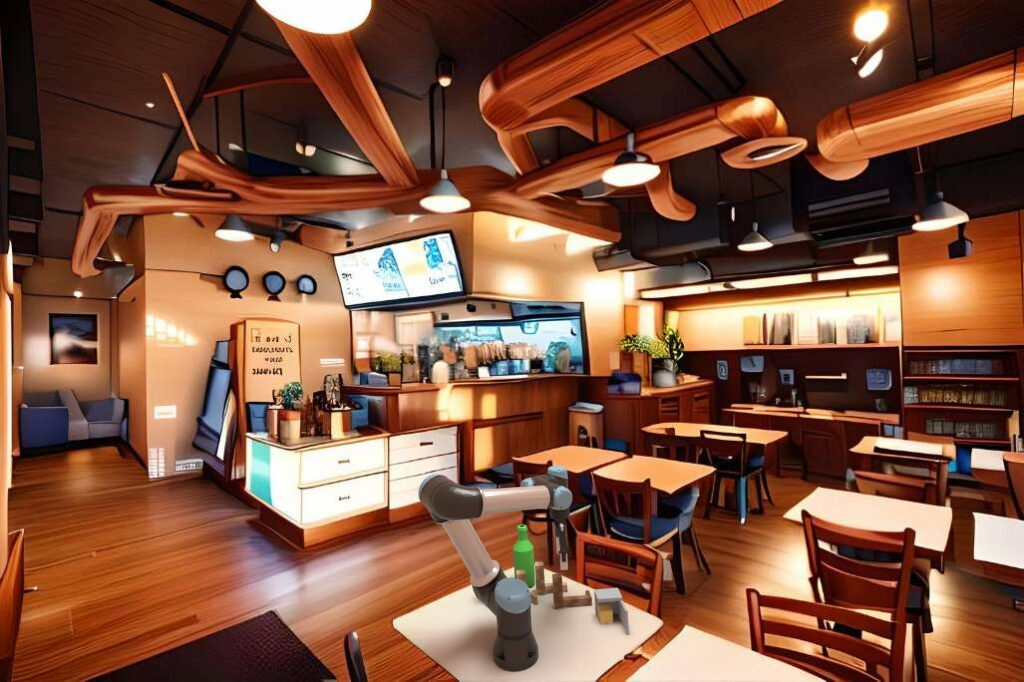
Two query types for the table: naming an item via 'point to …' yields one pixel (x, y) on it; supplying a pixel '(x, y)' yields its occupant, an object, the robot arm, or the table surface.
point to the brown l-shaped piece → (568, 601)
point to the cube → (605, 613)
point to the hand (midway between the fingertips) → (562, 561)
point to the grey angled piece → (612, 604)
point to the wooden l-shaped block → (541, 586)
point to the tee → (522, 577)
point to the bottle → (524, 555)
